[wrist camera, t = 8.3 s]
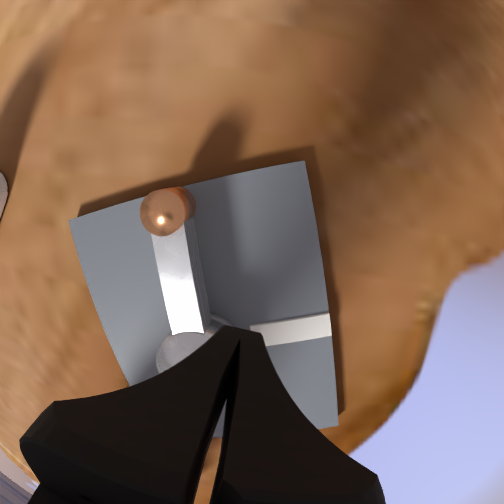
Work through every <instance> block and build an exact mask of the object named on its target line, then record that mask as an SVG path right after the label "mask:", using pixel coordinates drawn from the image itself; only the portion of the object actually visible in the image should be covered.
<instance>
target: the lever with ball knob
mask: <svg viewBox="0 0 504 504" xmlns="http://www.w3.org/2000/svg"><path fill="white" fill-rule="evenodd" d="M195 214H196V201H195V198H194V196H193V195H192V194H191V193H190V192H189V191H188V190H187V189H185V188H182V187H171V188H165V189H160V190H155V191H152V192H151V193H149V194H148V195H147V196H146V197H145V198H144V199H143V201H142V203H141V206H140V219H141V222H142V224H143V226H144V227H145V228H146V230H147V231H149V232H150V233H151V236H152V241H153V247H154V252H155V257H156V262H157V267H158V272H159V277H160V282H161V286H162V291H163V295H164V300H165V304H166V308H167V313H168V317H169V321H170V325H171V330H170V332H169V333H168V335H167V336H166V338H165V339H164V341H163V342H162V344H161V345H160V347H159V349H158V351H157V354H156V366H157V369H158V372H159V374H160V373H162V372H163V371H165V370H167V369H169V368H170V367H172V366H174V365H175V364H177V363H178V362H180V361H181V360H183V359H184V358H186V357H187V356H189V355H190V354H191V353H193V352H194V351H195V350H196V349H198V348H199V347H200V346H201V345H203V344H204V343H205V342H206V341H207V340H208V339H209V338H210V337H212V336H213V335H214V334H215V333H216V331H217V330H218V329H219V328H220V327H221V326H223V325H224V324H223V323H221V322H219V321H216V320H214V319H211V316H210V311H209V305H208V300H207V294H206V289H205V283H204V277H203V271H202V266H201V260H200V253H199V247H198V241H197V234H196V228H195V221H194V216H195Z"/></svg>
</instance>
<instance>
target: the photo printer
mask: <svg viewBox="0 0 504 504" xmlns="http://www.w3.org/2000/svg"><path fill="white" fill-rule="evenodd" d="M7 189H8V187H7V183H6V180H5V178H4V176H3V174H2V173H1V172H0V218H1V215H2V212H3V209H4V205H5V202H6V199H7V195H8V192H7Z"/></svg>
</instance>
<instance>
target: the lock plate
mask: <svg viewBox="0 0 504 504" xmlns="http://www.w3.org/2000/svg"><path fill="white" fill-rule="evenodd" d="M182 188H185V189H187V190H188V191H189V192H190V193H191V194H192V195H193V196H194V198H195V201H196V214H195V216H194V221H195V228H196V234H197V241H198V247H199V253H200V260H201V266H202V271H203V277H204V283H205V289H206V294H207V300H208V305H209V311H210V316H211V319H214V320H216V321H219V322H221V323H223V324H224V325H228V326H233V327H237V328H241V329H246V330H251V331H255V332H260V333H261V334H262V335H263V338H264V342H265V345H266V348H267V351H268V354H269V356H270V359H271V361H272V363H273V365H274V367H275V370H276V372H277V374H278V376H279V378H280V379H281V381H282V383H283V385H284V386H285V388H286V390H287V391H288V393H289V395H290V396H291V398H292V399H293V401H294V402H295V403H296V405H297V406H298V407H299V409H300V410H301V411H302V413H303V414H304V415H305V416H306V417H307V419H308V420H309V421H310V422H311V423H312V424H313V425H314V426H315V427H316V428H317V429H321V428H327V427H333V426H338V408H337V393H336V379H335V367H334V355H333V345H332V332H331V323H330V314H329V308H328V300H327V292H326V285H325V277H324V270H323V263H322V256H321V250H320V243H319V237H318V231H317V225H316V219H315V213H314V207H313V202H312V196H311V191H310V185H309V180H308V175H307V170H306V165H305V160H304V161H298V162H293V163H287V164H282V165H276V166H271V167H266V168H261V169H256V170H251V171H246V172H242V173H237V174H233V175H228V176H224V177H219V178H215V179H211V180H206V181H202V182H198V183H194V184H190V185H186V186H182ZM145 197H146V196H145ZM145 197H141V198H138V199H134V200H131V201H128V202H124V203H121V204H118V205H114V206H111V207H108V208H105V209H102V210H98V211H95V212H92V213H89V214H86V215H83V216H80V217H77V218H74V219H71V220H68V221H69V225H70V228H71V232H72V236H73V240H74V243H75V247H76V250H77V254H78V257H79V260H80V264H81V267H82V270H83V273H84V276H85V279H86V282H87V285H88V288H89V291H90V294H91V297H92V299H93V302H94V305H95V308H96V310H97V313H98V315H99V318H100V321H101V323H102V326H103V328H104V330H105V333H106V335H107V338H108V340H109V342H110V345H111V347H112V349H113V351H114V354H115V356H116V358H117V360H118V362H119V364H120V367H121V369H122V371H123V373H124V375H125V377H126V379H127V381H128V383H129V385H130V386H132V385H135V384H138V383H140V382H142V381H145V380H147V379H149V378H152V377H154V376H156V375H158V374H159V372H158V369H157V366H156V354H157V351H158V349H159V347H160V345H161V344H162V342H163V341H164V339H165V338H166V336H167V335H168V333H169V332H170V330H171V325H170V321H169V317H168V313H167V308H166V304H165V300H164V295H163V291H162V286H161V282H160V277H159V272H158V267H157V262H156V257H155V252H154V247H153V241H152V236H151V233H150V232H149V231H147V230H146V228H145V227H144V226H143V224H142V222H141V219H140V206H141V203H142V201H143V199H144V198H145ZM226 400H227V399H226ZM225 408H226V402H225V405H224V407H223V410H222V413H221V416H220V418H219V421H218V424H217V426H216V429H215V432H214V434H213V437H222V435H223V426H224V417H225Z"/></svg>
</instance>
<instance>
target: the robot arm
mask: <svg viewBox="0 0 504 504" xmlns="http://www.w3.org/2000/svg"><path fill="white" fill-rule="evenodd" d="M226 399H227V400H226ZM225 402H226V408H225V417H224V426H223V435H222V444H221V452H220V458H219V464H218V468H217V473H216V477H215V481H214V486H213V490H212V494H211V499H210V503H209V504H386V503H385V497H384V494H383V490H382V487H381V484H380V482H379V479H378V476H377V474H375V473H373V472H372V471H370V470H369V469H367V468H366V467H364V466H363V465H361V464H360V463H358V462H357V461H355V460H354V459H352V458H351V457H349V456H348V455H346V454H345V453H344V452H343V451H341V450H340V449H339V448H338V447H337V446H335V445H334V444H333V443H332V442H330V441H329V440H328V439H327V438H326V437H325V436H324V435H323V434H322V433H321V432H320V431H319V430H318V429H317V428H316V427H315V426H314V425H313V424H312V423H311V422H310V421H309V420H308V419H307V417H306V416H305V415H304V414H303V413H302V411H301V410H300V409H299V407H298V406H297V405H296V403H295V402H294V401H293V399H292V398H291V396H290V395H289V393H288V391H287V390H286V388H285V386H284V385H283V383H282V381H281V379H280V378H279V376H278V374H277V372H276V370H275V367H274V365H273V363H272V361H271V359H270V356H269V354H268V351H267V348H266V345H265V342H264V338H263V335H262V334H261V333H260V332H255V331H251V330H246V329H241V328H237V327H233V326H228V325H223V326H221V327H220V328H219V329H218V330H217V331H216V333H215V334H214V335H213V336H212V337H210V338H209V339H208V340H207V341H206V342H205V343H204V344H203V345H201V346H200V347H199V348H198V349H196V350H195V351H194V352H193V353H191V354H190V355H189V356H187V357H186V358H184V359H183V360H181V361H180V362H178V363H177V364H175V365H174V366H172V367H170V368H169V369H167V370H165V371H163V372H162V373H160V374H158V375H156V376H154V377H152V378H149V379H147V380H145V381H142V382H140V383H138V384H135V385H132V386H130V387H127V388H124V389H120V390H117V391H114V392H110V393H106V394H101V395H97V396H92V397H86V398H78V399H71V400H62V401H54V402H53V403H52V404H51V405H50V406H48V407H47V408H46V409H45V410H44V411H43V412H42V413H41V414H40V416H39V417H38V418H37V419H36V420H35V421H34V423H33V424H32V425H31V426H30V427H29V429H28V430H27V431H26V432H25V434H24V435H23V436H22V437H21V438H20V440H19V441H20V449H21V452H22V454H23V456H24V458H25V460H26V461H27V463H28V465H29V466H30V468H31V469H32V471H33V472H34V474H35V475H36V477H37V478H38V480H39V481H40V485H39V486H38V488H37V489H36V491H35V492H34V494H33V495H32V494H30V493H29V492H27V491H26V490H24V489H23V488H22V487H20V486H19V485H17V484H16V483H15V482H13V481H12V480H11V479H9V478H8V477H7V476H5V475H4V474H3V473H1V472H0V504H194V500H195V496H196V492H197V488H198V484H199V480H200V476H201V472H202V468H203V465H204V461H205V457H206V454H207V451H208V448H209V445H210V442H211V440H212V437H213V434H214V432H215V429H216V426H217V424H218V421H219V418H220V416H221V413H222V410H223V407H224V405H225Z"/></svg>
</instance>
